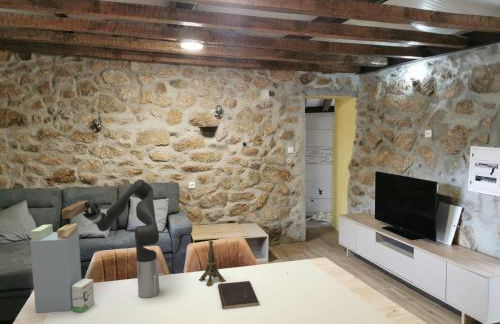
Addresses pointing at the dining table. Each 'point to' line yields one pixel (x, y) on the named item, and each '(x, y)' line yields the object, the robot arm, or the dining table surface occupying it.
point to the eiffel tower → (211, 268)
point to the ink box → (82, 295)
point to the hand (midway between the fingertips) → (81, 203)
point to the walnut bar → (74, 210)
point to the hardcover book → (237, 294)
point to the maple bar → (67, 231)
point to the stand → (55, 272)
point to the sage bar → (41, 232)
